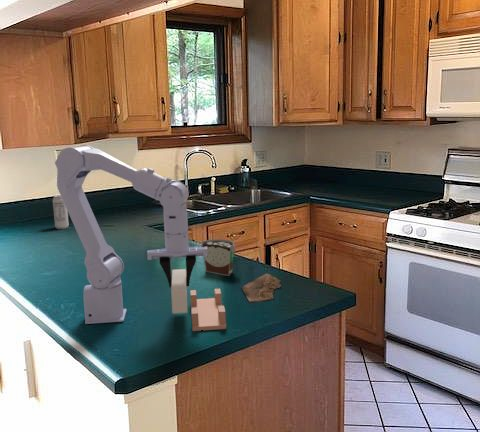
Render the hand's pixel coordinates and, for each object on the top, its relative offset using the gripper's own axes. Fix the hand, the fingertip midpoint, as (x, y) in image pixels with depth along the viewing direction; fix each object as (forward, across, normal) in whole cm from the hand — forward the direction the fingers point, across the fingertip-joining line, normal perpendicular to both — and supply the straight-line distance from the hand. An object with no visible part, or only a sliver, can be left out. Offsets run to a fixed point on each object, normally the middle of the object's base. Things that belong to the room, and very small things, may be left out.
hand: (179, 285), depth 131 cm
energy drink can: (+9, -55, +121) cm, 133 cm away
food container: (+9, +13, +39) cm, 42 cm away
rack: (+9, +7, +2) cm, 11 cm away
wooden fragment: (+10, +24, +21) cm, 33 cm away
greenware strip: (+4, 0, 0) cm, 4 cm away
